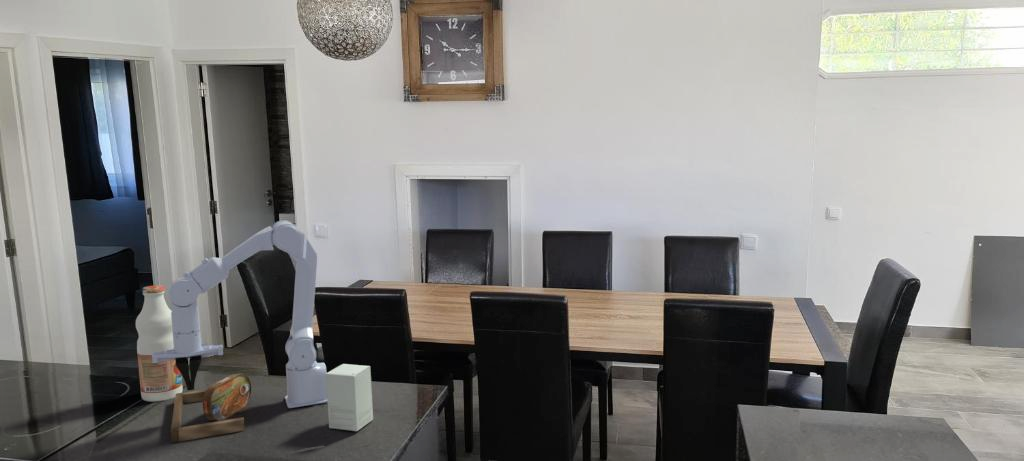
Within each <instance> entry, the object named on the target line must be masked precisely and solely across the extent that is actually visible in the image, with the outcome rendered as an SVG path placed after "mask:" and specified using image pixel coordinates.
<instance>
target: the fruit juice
mask: <svg viewBox="0 0 1024 461" xmlns="http://www.w3.org/2000/svg"><path fill="white" fill-rule="evenodd" d="M141 292H142V295H143V296H144V298H143V299H144V301H143V305H142V307H141V308H142V309H141V311H140V313H139V314H138V315H137V317H136V319H135V329H136V331H137V334H138V338H137V341H136V350H137V351H136V353H137V363H138V364H137V365H138V376H139V384H140V385H139V386H140V396H141V399H142V400H143V401H145V402H162V401H167V400H171V399H175V396H176V394H177V393H183V388H184V387H183V376H182V374H181V373H180V371H179V369H178V368H177V366H176V360H170V361H161V362H158V363H153V362H152V353H155V352H162V351H167V350H172V349H174V344H173V332H172V318H171V312H172V309H171V308H169V306H168V304H167V302H166V299H165V296H164V295H165V292H166V288H165V286H164V285H160V284H159V285H158V284H156V285H155V284H154V285H148V286H144V287H142V291H141Z"/></svg>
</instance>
